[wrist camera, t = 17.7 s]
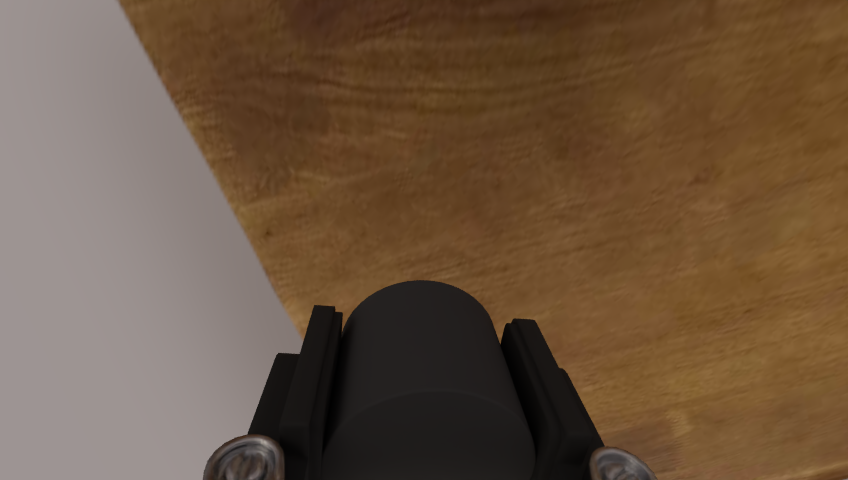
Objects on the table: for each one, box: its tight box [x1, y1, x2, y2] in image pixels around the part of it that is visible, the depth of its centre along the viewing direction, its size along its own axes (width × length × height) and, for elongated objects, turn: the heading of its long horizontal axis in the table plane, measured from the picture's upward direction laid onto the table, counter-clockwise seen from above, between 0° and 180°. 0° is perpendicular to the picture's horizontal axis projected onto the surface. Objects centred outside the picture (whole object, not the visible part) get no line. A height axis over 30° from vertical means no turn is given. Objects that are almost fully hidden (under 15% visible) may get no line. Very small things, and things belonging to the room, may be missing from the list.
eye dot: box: [321, 280, 536, 480], centre depth 11 cm, size 4×4×4 cm
